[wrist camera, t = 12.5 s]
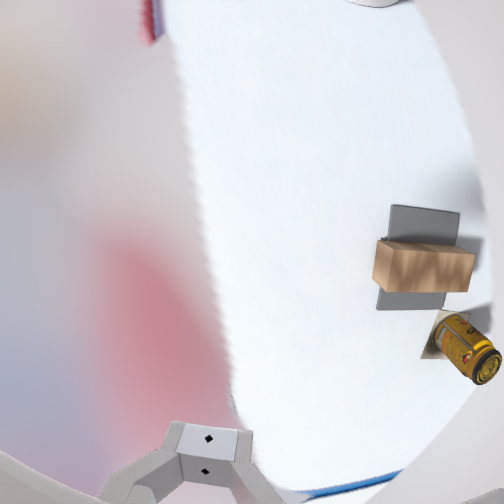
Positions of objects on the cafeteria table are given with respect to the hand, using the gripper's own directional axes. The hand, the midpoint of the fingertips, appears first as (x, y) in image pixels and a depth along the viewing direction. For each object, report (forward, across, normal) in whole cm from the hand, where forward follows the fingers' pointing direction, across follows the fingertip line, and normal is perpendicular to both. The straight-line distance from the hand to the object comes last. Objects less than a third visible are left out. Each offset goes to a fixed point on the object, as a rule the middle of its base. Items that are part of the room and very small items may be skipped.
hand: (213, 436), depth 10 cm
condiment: (+30, +31, -11) cm, 45 cm away
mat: (+30, +22, 0) cm, 37 cm away
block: (+26, +15, 0) cm, 31 cm away
